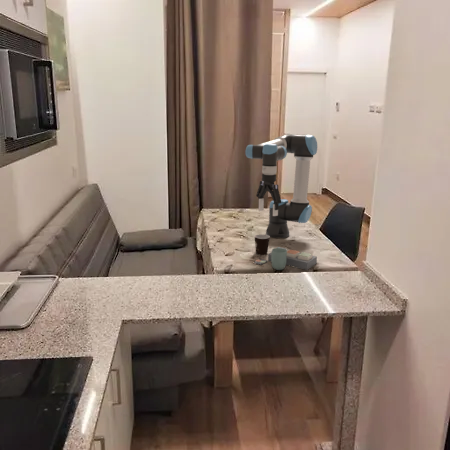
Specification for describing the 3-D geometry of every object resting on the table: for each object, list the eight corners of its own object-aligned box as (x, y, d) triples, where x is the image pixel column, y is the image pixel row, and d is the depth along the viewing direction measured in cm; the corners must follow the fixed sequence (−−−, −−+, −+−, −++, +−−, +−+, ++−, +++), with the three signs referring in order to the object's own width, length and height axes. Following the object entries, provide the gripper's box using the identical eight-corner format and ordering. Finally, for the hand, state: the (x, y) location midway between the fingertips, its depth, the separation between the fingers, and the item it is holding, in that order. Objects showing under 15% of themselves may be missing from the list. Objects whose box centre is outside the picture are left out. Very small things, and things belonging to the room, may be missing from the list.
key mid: (289, 256, 246) (290, 249, 245) (299, 258, 242) (299, 251, 241) (284, 259, 241) (285, 252, 240) (294, 261, 238) (295, 254, 237)
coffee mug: (268, 256, 251) (268, 239, 249) (253, 255, 253) (253, 238, 250) (270, 249, 262) (271, 233, 260) (255, 248, 264) (256, 232, 261)
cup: (275, 264, 238) (276, 247, 235) (288, 268, 234) (289, 249, 231) (268, 269, 232) (268, 250, 229) (281, 272, 228) (282, 253, 225)
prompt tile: (259, 259, 245) (259, 258, 245) (267, 261, 242) (267, 260, 242) (253, 263, 240) (253, 261, 240) (261, 265, 237) (261, 263, 237)
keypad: (278, 255, 253) (278, 248, 252) (316, 263, 241) (316, 256, 240) (268, 260, 244) (268, 253, 243) (306, 269, 231) (307, 262, 230)
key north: (302, 258, 242) (302, 251, 240) (312, 261, 238) (312, 254, 237) (297, 261, 237) (298, 254, 236) (307, 264, 234) (308, 256, 233)
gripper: (250, 171, 245) (249, 208, 250) (277, 177, 223) (275, 219, 229) (262, 170, 248) (261, 207, 254) (289, 176, 227) (287, 217, 233)
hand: (267, 213), depth 241 cm, fingers open, 13 cm apart
